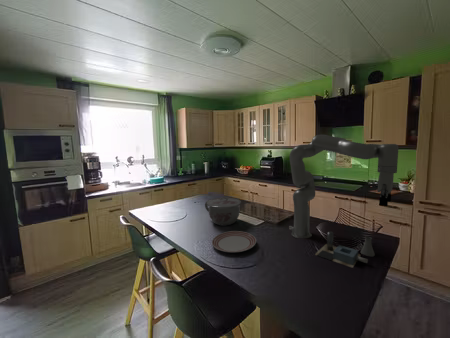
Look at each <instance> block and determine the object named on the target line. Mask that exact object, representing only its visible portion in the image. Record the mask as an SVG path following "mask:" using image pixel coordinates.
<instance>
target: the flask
mask: <svg viewBox="0 0 450 338" xmlns="http://www.w3.org/2000/svg"><path fill="white" fill-rule="evenodd" d="M364 239H365V240H364V244H363V246H362V248H361V249H360V253H361V255H364V256H367V257H374V256H376V253H375V251H374V249H373V244H372V239H373V238H372V236H371V237H370V236H364Z"/></svg>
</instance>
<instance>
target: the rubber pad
mask: <svg viewBox="0 0 450 338" xmlns="http://www.w3.org/2000/svg"><path fill="white" fill-rule="evenodd" d="M316 257H319V258H322V259H324V260H328V261H331V262H332V259H333V254H332V253H329V252H326V251H323V250H322V251H321V252H320V253H319V254H318V255H316Z"/></svg>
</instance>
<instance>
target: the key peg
mask: <svg viewBox="0 0 450 338" xmlns="http://www.w3.org/2000/svg"><path fill="white" fill-rule="evenodd" d="M326 238H327V242H326V244H327V250H329V251H333V246H334V231H330V230H328V231H327V237H326Z"/></svg>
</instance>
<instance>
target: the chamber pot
mask: <svg viewBox="0 0 450 338" xmlns="http://www.w3.org/2000/svg"><path fill="white" fill-rule="evenodd" d="M204 203H205V204H204V207H205V210H206V211H207V213H208V216H209V217H210V219H211V221H212V222H213V223H214V224H215V225H217V226H223V225H225V226H230V225H233V224H235V223H236V221H237V220H238V218H239V216H240V205H241V204H242V201H241V200H240V199H238V198H234V197H226V196H225V197H224V196H223V197H217V198H212V199H210V200H209V199H208V200H206V201H205V202H204Z"/></svg>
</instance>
